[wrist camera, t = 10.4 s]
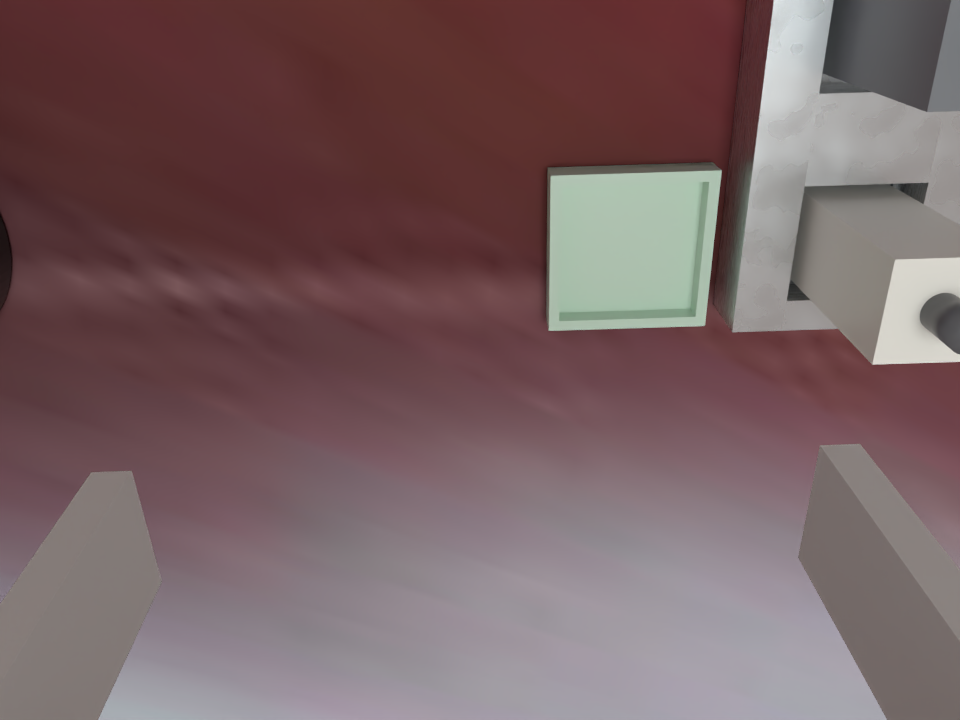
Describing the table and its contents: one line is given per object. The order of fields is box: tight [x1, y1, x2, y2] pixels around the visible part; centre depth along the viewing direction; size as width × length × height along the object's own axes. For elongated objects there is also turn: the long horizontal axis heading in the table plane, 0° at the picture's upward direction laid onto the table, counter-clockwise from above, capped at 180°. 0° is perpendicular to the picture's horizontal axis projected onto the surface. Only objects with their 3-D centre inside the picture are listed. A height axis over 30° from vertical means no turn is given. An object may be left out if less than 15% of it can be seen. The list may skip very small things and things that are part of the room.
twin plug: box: [822, 0, 960, 112], centre depth 35 cm, size 5×5×14 cm
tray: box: [546, 162, 722, 331], centre depth 47 cm, size 9×9×2 cm
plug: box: [790, 184, 960, 364], centre depth 40 cm, size 5×5×14 cm
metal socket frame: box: [713, 0, 960, 332], centre depth 43 cm, size 12×21×4 cm, turn 2°
